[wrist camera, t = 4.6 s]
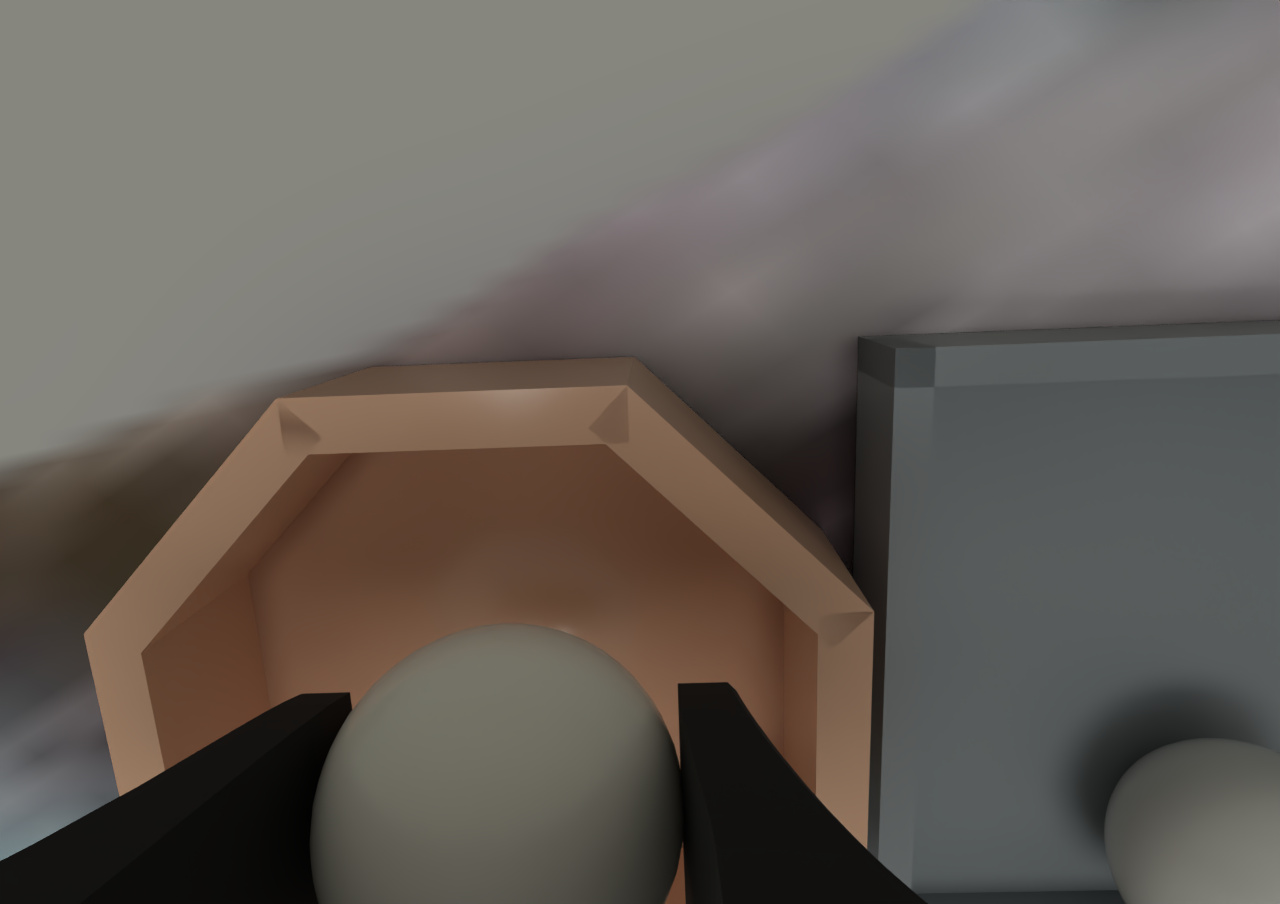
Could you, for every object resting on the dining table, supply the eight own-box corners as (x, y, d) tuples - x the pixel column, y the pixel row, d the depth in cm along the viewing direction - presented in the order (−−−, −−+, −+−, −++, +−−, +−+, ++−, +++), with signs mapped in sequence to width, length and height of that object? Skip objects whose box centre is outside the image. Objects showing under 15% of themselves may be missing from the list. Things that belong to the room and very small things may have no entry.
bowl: (824, 349, 14) (881, 375, 10) (817, 896, 16) (861, 1065, 13) (187, 373, 14) (33, 407, 11) (280, 905, 17) (180, 1073, 13)
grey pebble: (1284, 692, 15) (1509, 843, 11) (1254, 870, 16) (1454, 1070, 12) (1070, 697, 15) (1218, 849, 11) (1053, 874, 16) (1184, 1072, 12)
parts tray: (1568, 309, 13) (1741, 315, 11) (1435, 893, 16) (1554, 988, 14) (858, 336, 14) (895, 348, 12) (845, 903, 16) (873, 998, 14)
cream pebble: (670, 565, 10) (696, 749, 6) (677, 829, 11) (703, 1133, 7) (364, 576, 10) (197, 767, 6) (396, 839, 11) (268, 1150, 7)
